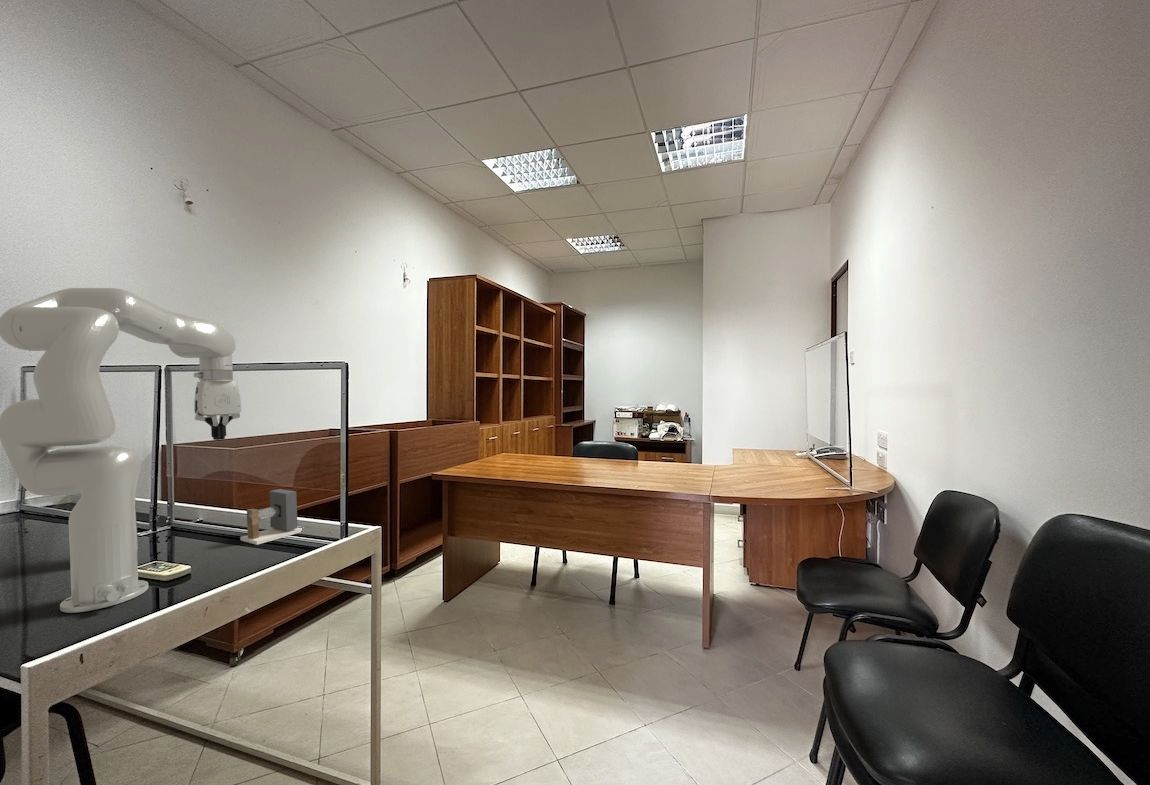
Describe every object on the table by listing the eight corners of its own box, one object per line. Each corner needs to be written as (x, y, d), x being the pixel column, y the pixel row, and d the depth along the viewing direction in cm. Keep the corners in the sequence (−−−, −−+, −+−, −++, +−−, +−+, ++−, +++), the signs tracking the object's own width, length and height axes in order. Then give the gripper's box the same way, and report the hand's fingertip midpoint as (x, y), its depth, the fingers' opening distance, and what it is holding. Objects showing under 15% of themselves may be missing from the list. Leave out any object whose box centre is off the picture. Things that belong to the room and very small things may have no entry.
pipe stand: (304, 531, 134) (303, 501, 134) (256, 544, 123) (255, 512, 123) (288, 527, 139) (287, 498, 139) (240, 540, 127) (239, 509, 127)
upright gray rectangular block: (297, 528, 133) (296, 491, 133) (286, 530, 130) (285, 493, 130) (281, 524, 137) (279, 489, 137) (270, 527, 134) (269, 491, 134)
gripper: (190, 376, 121) (192, 443, 121) (252, 376, 134) (254, 437, 134) (178, 377, 125) (181, 442, 125) (239, 377, 138) (241, 436, 138)
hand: (219, 439), depth 130 cm, fingers closed
